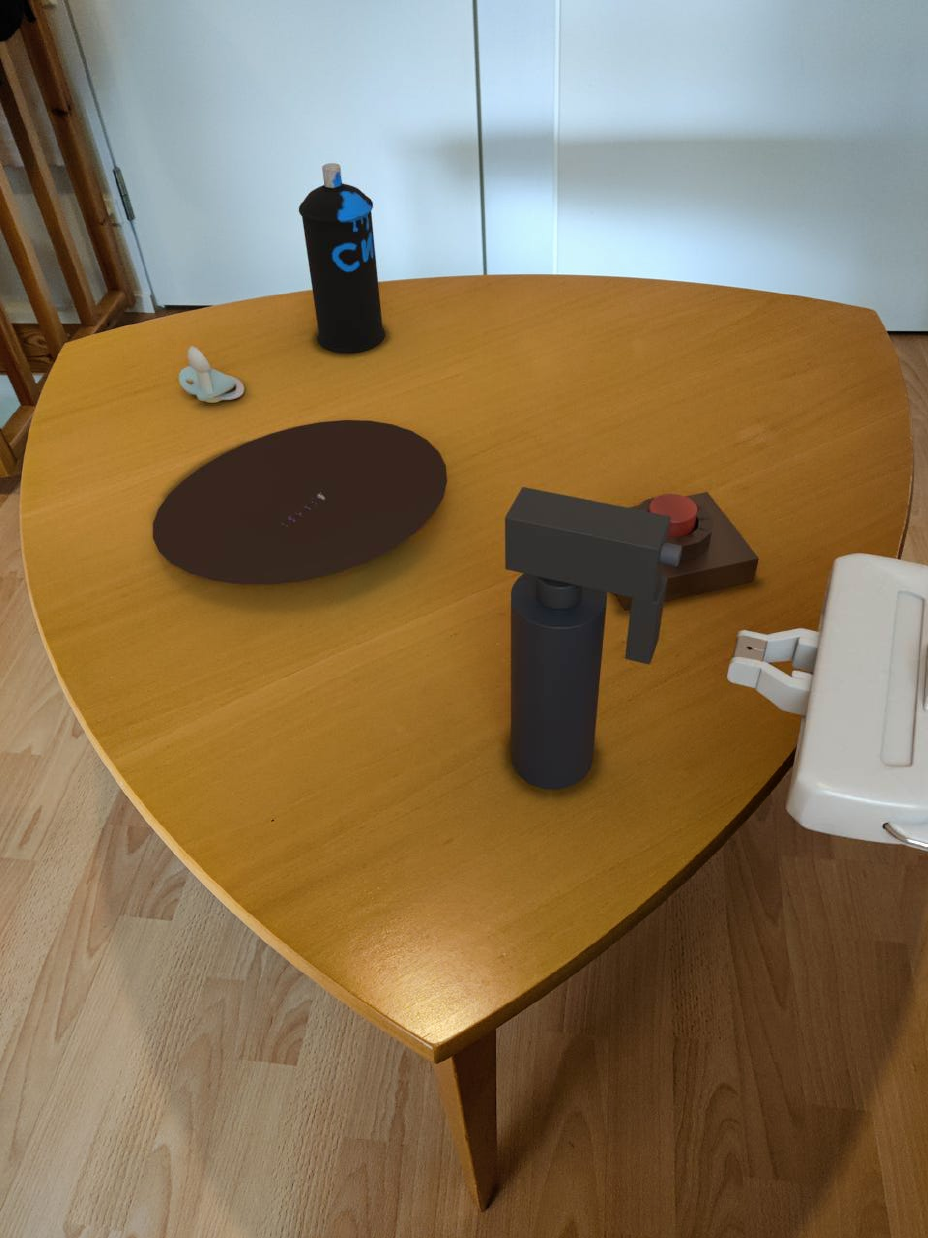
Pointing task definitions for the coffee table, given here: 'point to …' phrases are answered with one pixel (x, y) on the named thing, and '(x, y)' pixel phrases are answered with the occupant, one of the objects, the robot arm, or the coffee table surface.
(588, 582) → the spray bottle
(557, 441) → the coffee table surface
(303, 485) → the plate
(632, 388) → the coffee table surface
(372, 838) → the coffee table surface
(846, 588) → the robot arm
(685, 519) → the button
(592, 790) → the coffee table surface
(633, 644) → the block
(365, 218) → the aerosol can
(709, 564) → the button block
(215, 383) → the pacifier
